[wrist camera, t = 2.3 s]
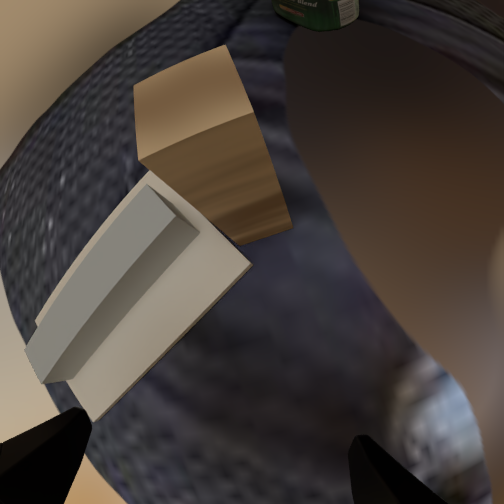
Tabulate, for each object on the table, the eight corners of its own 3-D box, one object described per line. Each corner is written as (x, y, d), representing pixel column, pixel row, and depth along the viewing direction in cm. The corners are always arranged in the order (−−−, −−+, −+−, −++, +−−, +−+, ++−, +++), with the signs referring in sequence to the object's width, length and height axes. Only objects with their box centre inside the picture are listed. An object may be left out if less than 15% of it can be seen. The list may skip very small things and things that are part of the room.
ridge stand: (253, 265, 21) (234, 251, 16) (98, 420, 21) (63, 432, 16) (158, 169, 24) (128, 143, 20) (40, 321, 25) (5, 318, 20)
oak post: (293, 228, 21) (253, 111, 8) (239, 245, 21) (138, 160, 9) (276, 179, 22) (225, 44, 9) (226, 197, 22) (133, 85, 10)
